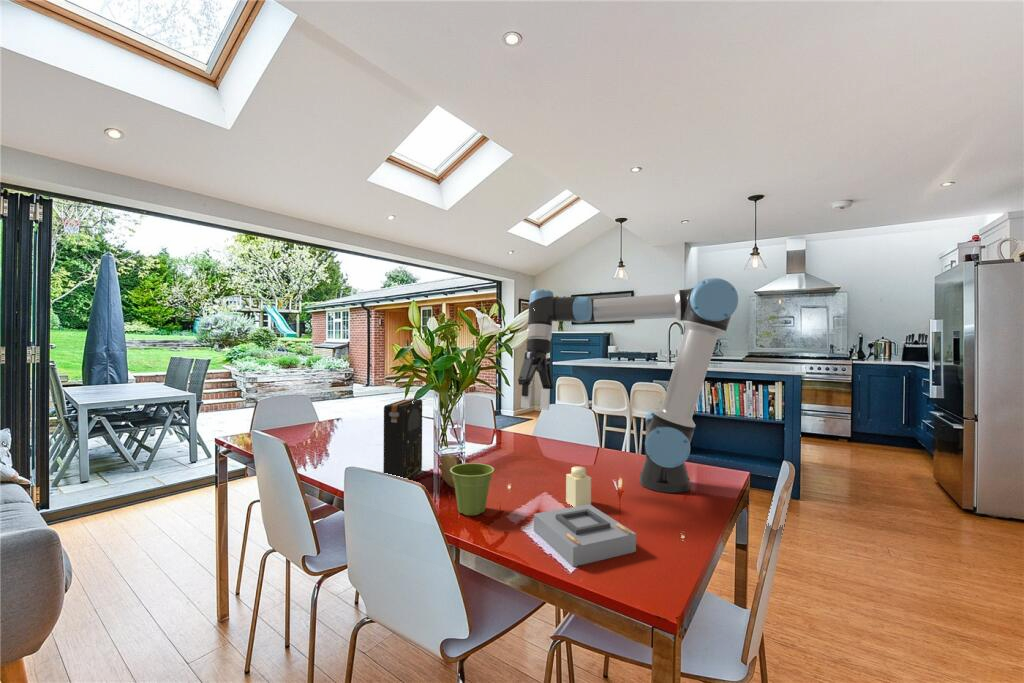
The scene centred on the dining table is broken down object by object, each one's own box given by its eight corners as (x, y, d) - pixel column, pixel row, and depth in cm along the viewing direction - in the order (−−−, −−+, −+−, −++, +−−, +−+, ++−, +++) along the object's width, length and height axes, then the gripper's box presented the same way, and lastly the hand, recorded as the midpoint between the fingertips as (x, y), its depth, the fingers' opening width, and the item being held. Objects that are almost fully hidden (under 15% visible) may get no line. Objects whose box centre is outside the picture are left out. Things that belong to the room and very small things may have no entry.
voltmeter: (405, 484, 136) (405, 405, 136) (380, 482, 138) (380, 404, 137) (425, 469, 151) (425, 398, 151) (402, 468, 153) (402, 397, 153)
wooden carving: (477, 491, 131) (477, 458, 130) (464, 495, 127) (465, 461, 127) (445, 478, 143) (445, 448, 142) (433, 481, 139) (434, 450, 139)
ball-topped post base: (589, 519, 111) (589, 500, 111) (635, 551, 95) (636, 529, 95) (533, 530, 105) (533, 509, 105) (573, 566, 88) (573, 542, 88)
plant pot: (501, 514, 114) (502, 471, 114) (459, 523, 108) (460, 478, 108) (482, 499, 124) (482, 460, 124) (443, 507, 118) (443, 466, 118)
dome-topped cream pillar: (581, 499, 125) (581, 465, 125) (590, 506, 120) (591, 470, 120) (566, 502, 123) (566, 467, 123) (575, 508, 118) (575, 472, 118)
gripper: (544, 346, 147) (541, 409, 144) (509, 332, 125) (504, 406, 122) (565, 346, 143) (562, 410, 140) (532, 331, 122) (528, 407, 118)
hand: (535, 408), depth 131 cm, fingers open, 13 cm apart
